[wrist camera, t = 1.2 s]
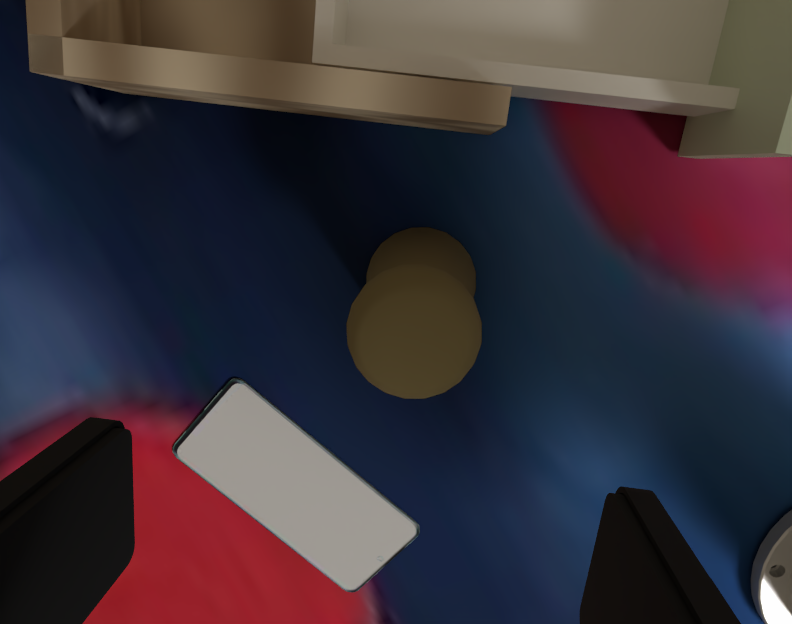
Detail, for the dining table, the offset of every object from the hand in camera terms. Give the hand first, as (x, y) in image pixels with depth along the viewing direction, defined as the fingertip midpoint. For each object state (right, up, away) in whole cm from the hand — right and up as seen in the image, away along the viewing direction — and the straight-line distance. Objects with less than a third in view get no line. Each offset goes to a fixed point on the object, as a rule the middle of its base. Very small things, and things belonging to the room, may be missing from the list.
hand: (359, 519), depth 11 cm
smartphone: (-5, -7, +24) cm, 26 cm away
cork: (+2, +6, +20) cm, 21 cm away
